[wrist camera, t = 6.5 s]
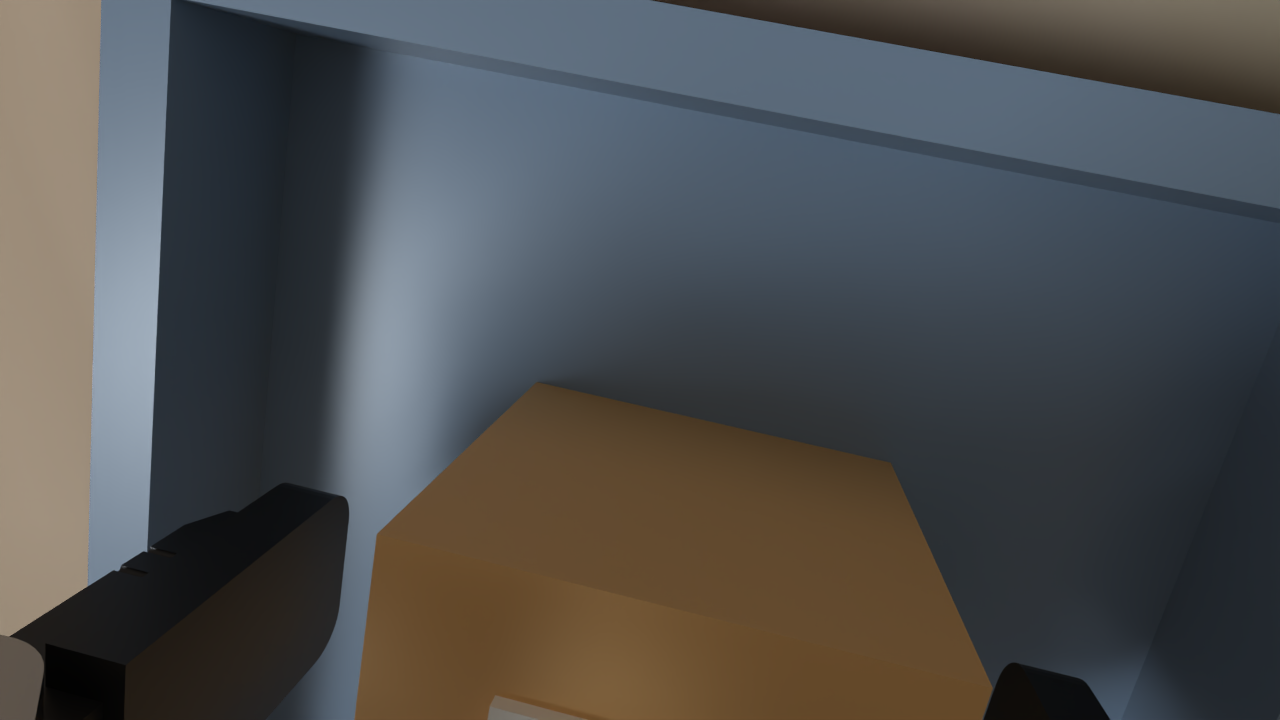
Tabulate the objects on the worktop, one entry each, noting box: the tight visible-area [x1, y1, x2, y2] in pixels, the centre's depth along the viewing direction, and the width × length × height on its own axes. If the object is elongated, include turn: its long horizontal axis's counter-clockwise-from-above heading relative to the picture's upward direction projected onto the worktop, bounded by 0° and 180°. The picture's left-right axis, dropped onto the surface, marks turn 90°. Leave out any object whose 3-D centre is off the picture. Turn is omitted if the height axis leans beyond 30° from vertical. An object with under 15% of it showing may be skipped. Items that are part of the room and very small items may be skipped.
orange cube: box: [354, 382, 993, 720], centre depth 9 cm, size 5×5×5 cm
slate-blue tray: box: [88, 0, 1280, 720], centre depth 11 cm, size 15×15×3 cm
